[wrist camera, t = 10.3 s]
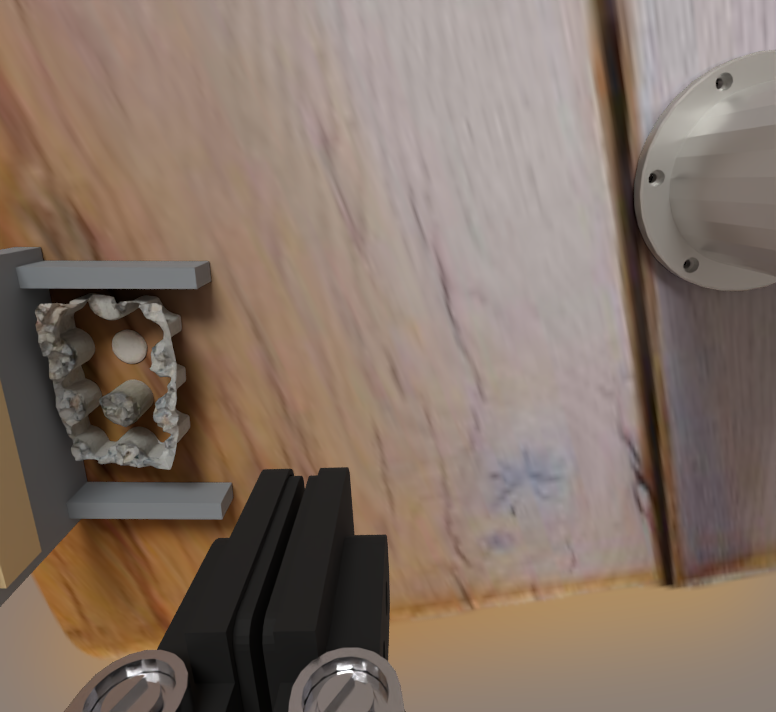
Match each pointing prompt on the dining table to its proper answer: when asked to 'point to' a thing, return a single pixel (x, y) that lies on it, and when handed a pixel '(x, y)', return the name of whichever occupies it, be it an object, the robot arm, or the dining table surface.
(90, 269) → the display stand
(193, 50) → the dining table surface
